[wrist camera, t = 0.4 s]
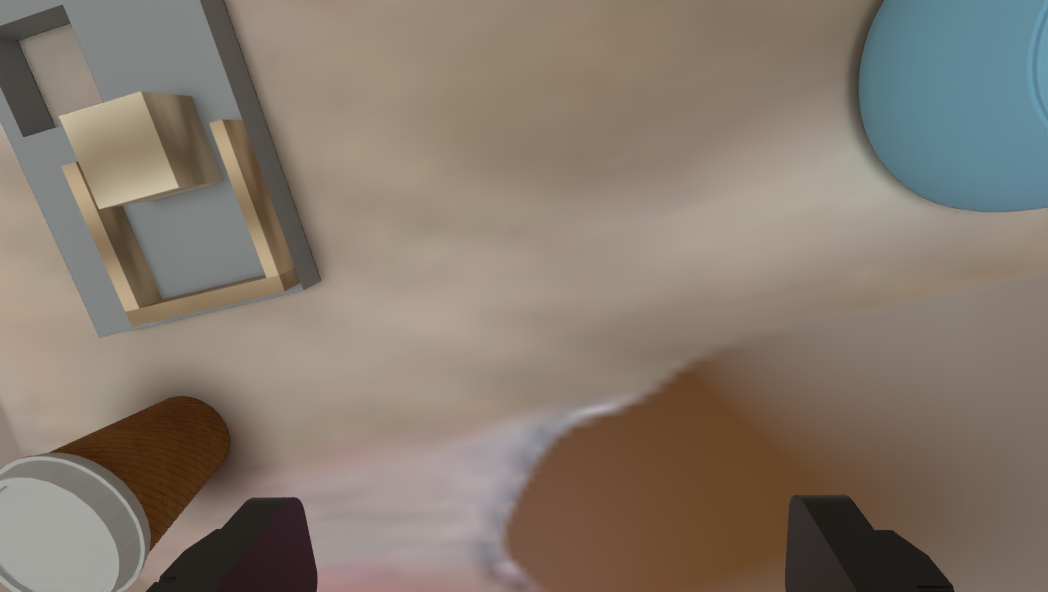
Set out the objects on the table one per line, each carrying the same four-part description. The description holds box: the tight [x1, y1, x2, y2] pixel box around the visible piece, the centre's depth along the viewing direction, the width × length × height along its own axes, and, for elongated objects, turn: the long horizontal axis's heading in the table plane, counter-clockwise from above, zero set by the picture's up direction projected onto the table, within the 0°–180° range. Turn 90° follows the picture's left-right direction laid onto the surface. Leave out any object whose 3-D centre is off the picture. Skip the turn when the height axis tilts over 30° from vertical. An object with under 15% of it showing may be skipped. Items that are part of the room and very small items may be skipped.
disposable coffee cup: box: [0, 397, 229, 592], centre depth 37 cm, size 10×10×12 cm
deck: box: [0, 0, 321, 337], centre depth 35 cm, size 25×15×2 cm, turn 14°
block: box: [59, 91, 224, 209], centre depth 32 cm, size 5×5×4 cm
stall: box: [61, 119, 301, 327], centre depth 34 cm, size 10×10×2 cm
